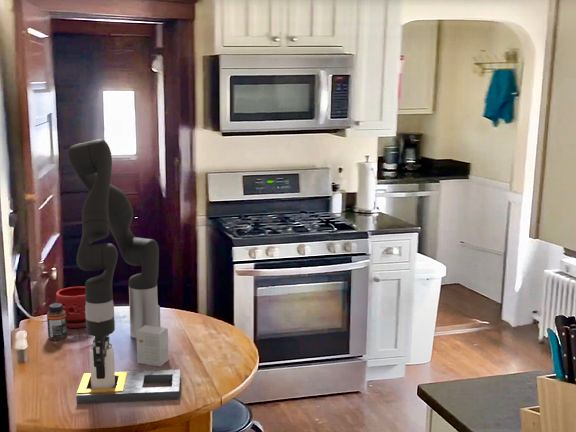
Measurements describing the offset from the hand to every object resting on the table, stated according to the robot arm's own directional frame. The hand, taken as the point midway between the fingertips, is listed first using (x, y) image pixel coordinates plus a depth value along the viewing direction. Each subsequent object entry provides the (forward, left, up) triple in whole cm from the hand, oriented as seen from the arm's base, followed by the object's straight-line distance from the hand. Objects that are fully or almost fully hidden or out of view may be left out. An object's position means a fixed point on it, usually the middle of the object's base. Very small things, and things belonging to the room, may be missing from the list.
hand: (102, 372), depth 194 cm
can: (0, 0, -4) cm, 4 cm away
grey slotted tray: (-5, +5, -6) cm, 9 cm away
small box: (-22, -5, -6) cm, 23 cm away
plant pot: (-27, -50, -6) cm, 57 cm away
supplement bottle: (-15, -44, -6) cm, 47 cm away
